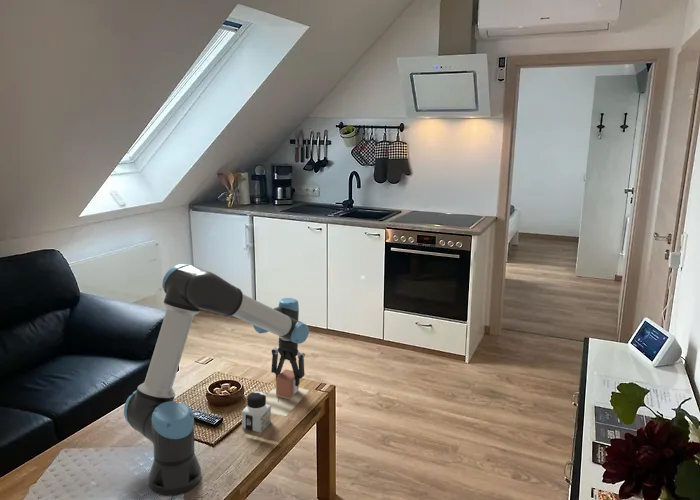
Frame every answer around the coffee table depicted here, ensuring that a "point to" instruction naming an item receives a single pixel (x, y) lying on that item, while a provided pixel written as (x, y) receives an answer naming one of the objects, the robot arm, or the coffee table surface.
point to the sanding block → (285, 384)
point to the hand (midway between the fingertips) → (287, 390)
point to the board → (284, 401)
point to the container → (256, 412)
